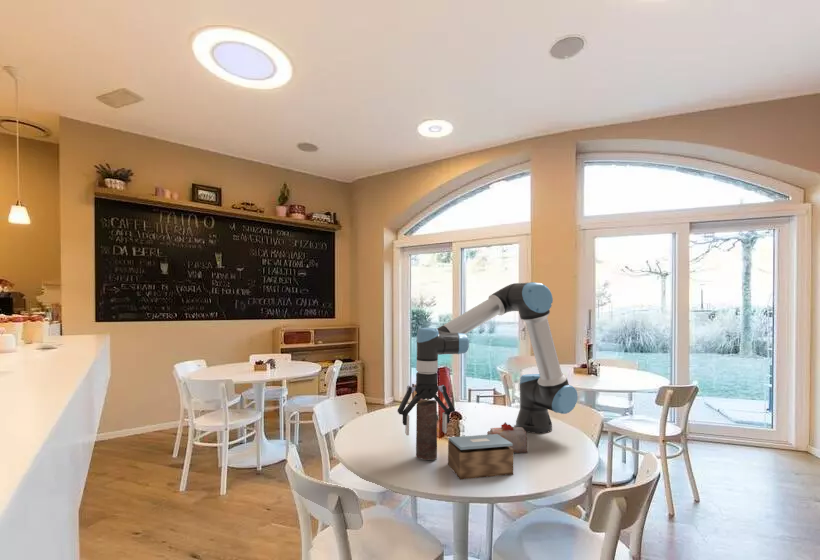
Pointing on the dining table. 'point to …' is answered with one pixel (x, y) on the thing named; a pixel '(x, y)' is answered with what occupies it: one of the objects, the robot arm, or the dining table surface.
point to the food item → (512, 437)
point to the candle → (426, 430)
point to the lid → (480, 441)
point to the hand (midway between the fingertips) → (425, 433)
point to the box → (480, 461)
